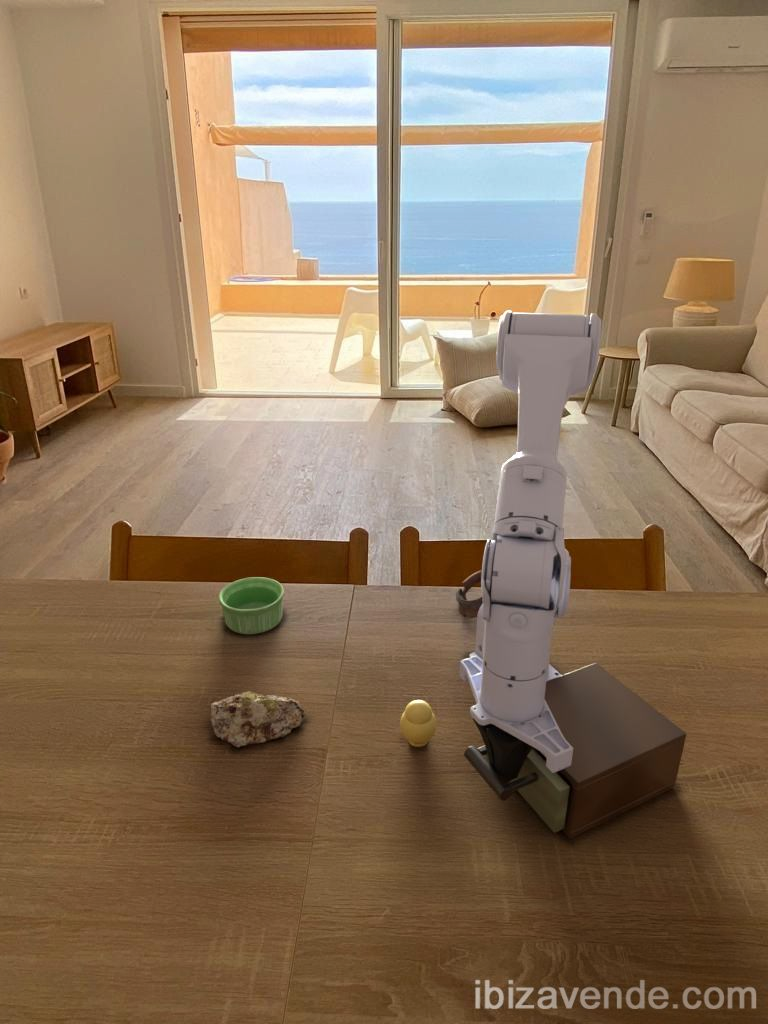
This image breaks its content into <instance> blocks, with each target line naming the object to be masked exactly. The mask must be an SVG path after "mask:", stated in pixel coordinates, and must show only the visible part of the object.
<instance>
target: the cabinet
mask: <svg viewBox="0 0 768 1024" xmlns="http://www.w3.org/2000/svg"><path fill="white" fill-rule="evenodd" d="M561 675H562V676H559V677H556V678H554V679H551V680H548V681H546V689H545V698H544V699H545V701H546V703H547V705H548V707H549V709H550V711H551V713H552V715H553V717H554V719H555V721H556V723H557V725H558V727H559V729H560V731H561V733H562V735H563V736H564V738H565V739H566V741H567V742H568V743H569V744H570V745H571V746H572V747H573V755H572V762H571V765H570V766H568V767H566V768H564V769H562V770H560V772H561V773H562V774H563V775H564V776H565V777H566V778H567V779H568V780H569V781H570V782H571V783H572V784H571V789H570V796H569V803H568V810H567V811H566V818H565V825H564V829H562V830H561V831H562V832H563V833H564V834H565V835H566V837H567V838H568V839H572V838H574V837H575V838H576V837H577V836H579V835H581V834H583V833H584V832H587V831H589V830H590V829H593V828H595V827H597V826H599V825H601V824H603V823H605V822H607V821H609V820H611V819H613V818H615V817H618V816H619V815H622V814H624V813H625V812H627V811H630V810H632V809H633V808H635V807H637V806H640V805H641V804H644V803H645V802H648V801H650V800H652V799H654V798H655V797H657V796H660V795H662V794H664V793H666V792H667V791H669V790H671V789H674V788H675V786H676V782H677V778H678V775H679V774H678V773H679V769H680V765H681V761H682V756H683V752H684V747H685V743H686V738H687V732H686V731H684V730H683V729H682V728H680V727H679V726H678V725H677V724H675V723H674V722H673V721H671V720H670V719H669V718H668V717H666V716H665V715H664V714H663V713H661V712H660V711H659V710H658V709H656V708H655V707H654V706H653V705H651V704H650V703H648V702H647V701H646V700H645V699H643V698H642V697H641V696H639V695H638V694H637V693H636V692H634V691H633V689H631V688H629V687H628V686H627V685H625V684H624V683H623V682H621V681H620V680H619V679H618V678H617V677H615V676H614V675H613V674H611V673H610V672H609V671H607V670H606V669H605V668H604V667H602V666H601V665H600V664H599V663H598V662H595V663H591V664H589V665H585V666H584V667H581V668H577V669H575V670H573V671H569V672H568V673H564V674H561Z"/></svg>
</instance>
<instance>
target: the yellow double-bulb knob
mask: <svg viewBox="0 0 768 1024" xmlns="http://www.w3.org/2000/svg"><path fill="white" fill-rule="evenodd" d="M437 726H438V722H437V718H436V716H435V714H434V712H433V710H432V708H431V706H430V704H429V703H428V702H426V701H425V700H422V699H414V700H412V701H410V702H409V703H408V704H407V705H406V707H405V709H404V711H403V713H402V714H401V717H400V721H399V728H400V731H401V733H402V735H403V737H404V738H405V739H406V740H407V742H408V743H409V745H411V746H412V747H415V748H421V747H424V746H426V745H427V744H428V742H429V741H430V740H431V739H432V738H433V737H434V735H435V734H436V731H437Z"/></svg>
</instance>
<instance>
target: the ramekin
mask: <svg viewBox="0 0 768 1024" xmlns="http://www.w3.org/2000/svg"><path fill="white" fill-rule="evenodd" d="M284 595H285V590H284V587H283V585H282V584H281V583H280V582H279V581H277V580H275V579H273V578H269V577H262V576H253V577H252V576H251V577H245V578H241V579H238V580H235V581H232V582H230V583H228V584H226V585H225V587H223V588H222V589H221V590H220V592H219V594H218V601H219V604H220V606H221V609H222V613H223V618H224V622H225V625H226V626H227V627H228V628H229V629H230V630H231V631H232V632H235V633H237V634H241V635H243V634H244V635H257V634H262V633H265V632H268V631H270V630H272V629H274V628H275V627H277V626H278V625H279V624H280V622H281V621H282V619H283V613H284V612H283V609H284V608H283V607H284V606H283V604H284V603H283V602H284V600H283V599H284Z"/></svg>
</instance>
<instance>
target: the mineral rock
mask: <svg viewBox="0 0 768 1024" xmlns="http://www.w3.org/2000/svg"><path fill="white" fill-rule="evenodd" d="M210 708H211V709H210V711H211V714H210V723H211V727H212V729H213V733H214V735H215V736H216V737H217V738H221V740H222V741H225V742H227V743H230V744H231V745H232V746H233V747H236V748H240V747H243V746H247V745H252V744H256V745H257V744H262V743H266V742H268V741H271V740H276V739H278V738H280V737H282V738H283V737H285V736H287V735H288V734H291V731H292V729H294V728H298V727H300V726H301V723H302V722H303V721H304V719H305V716H306V714H304V713H305V710H304V709H302V707H301V704H300V702H299V701H297V700H296V699H294V698H293V697H289V698H287V697H285V696H277V695H276V694H268V695H266V696H264V695H263V694H261V693H256V692H252V691H250V690H248V691H247V690H246V691H244V692H240V693H235V694H233V695H230V696H228V697H227V698H224V699H221V700H219V701H214V702H212V703H210Z"/></svg>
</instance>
